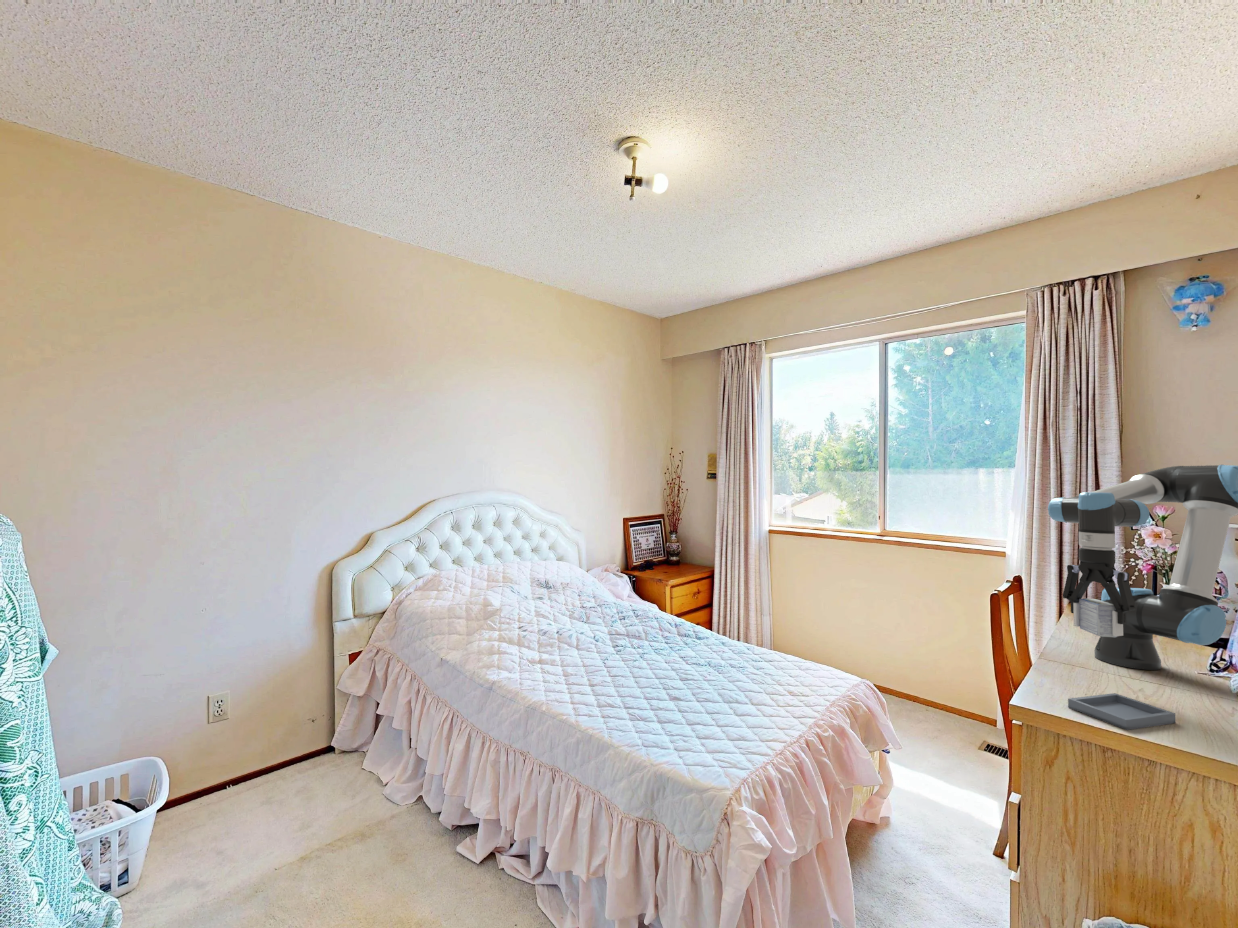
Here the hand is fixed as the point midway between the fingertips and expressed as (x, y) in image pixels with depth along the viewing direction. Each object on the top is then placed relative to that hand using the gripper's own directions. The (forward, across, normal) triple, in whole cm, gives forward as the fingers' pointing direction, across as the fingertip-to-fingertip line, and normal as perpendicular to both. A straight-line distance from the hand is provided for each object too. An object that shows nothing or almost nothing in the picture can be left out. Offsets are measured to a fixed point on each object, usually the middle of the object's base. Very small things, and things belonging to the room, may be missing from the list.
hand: (1097, 630), depth 146 cm
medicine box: (+1, 0, 0) cm, 1 cm away
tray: (+15, +15, -16) cm, 27 cm away
